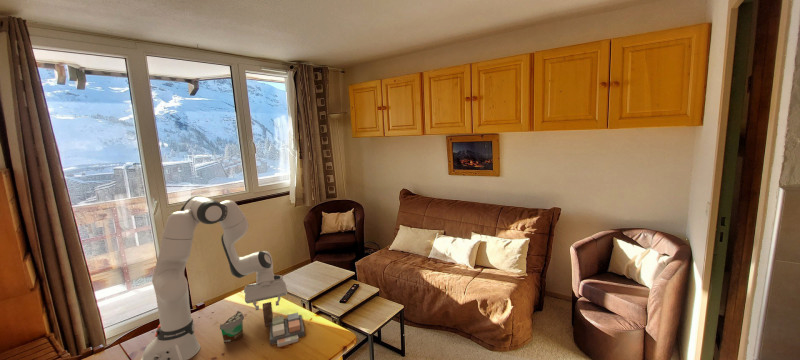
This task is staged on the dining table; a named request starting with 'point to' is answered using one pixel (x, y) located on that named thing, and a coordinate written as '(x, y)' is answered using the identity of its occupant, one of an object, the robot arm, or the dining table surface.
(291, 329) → the key terracotta
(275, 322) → the key sage
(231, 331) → the food container
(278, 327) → the key cream
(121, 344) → the dining table surface
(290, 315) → the key slate
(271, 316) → the dark brown block
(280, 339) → the keypad
